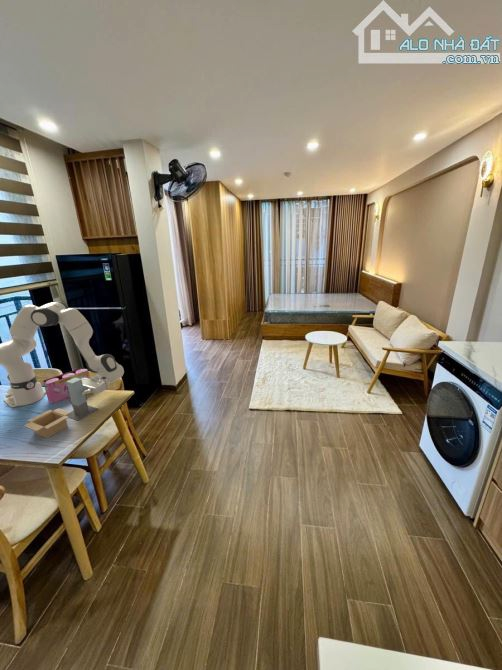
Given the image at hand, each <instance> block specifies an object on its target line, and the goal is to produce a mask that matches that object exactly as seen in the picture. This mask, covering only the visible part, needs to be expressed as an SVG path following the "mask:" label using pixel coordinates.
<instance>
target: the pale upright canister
mask: <svg viewBox="0 0 502 670" xmlns="http://www.w3.org/2000/svg"><path fill="white" fill-rule="evenodd" d="M66 382H67V386H68V390H69V394H70V397H69V398H70V402H71V405H72V408H73V409H72V411H73V410H74V413H75V414H77V415H82V414H84V413H86V412H87V411H89V409H88V401H87V396H86V394H85V395H81V392H82V391H84V387H83V383H82V379H79V378H73V379H71V380H69V381H66Z"/></svg>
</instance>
